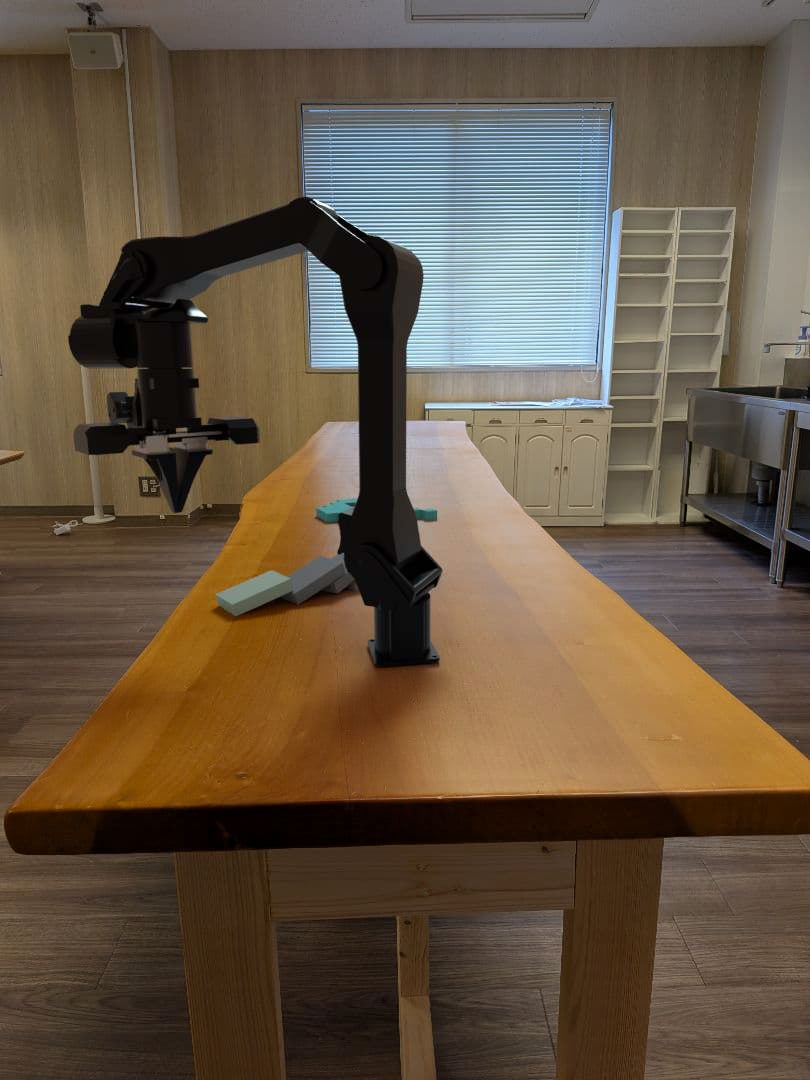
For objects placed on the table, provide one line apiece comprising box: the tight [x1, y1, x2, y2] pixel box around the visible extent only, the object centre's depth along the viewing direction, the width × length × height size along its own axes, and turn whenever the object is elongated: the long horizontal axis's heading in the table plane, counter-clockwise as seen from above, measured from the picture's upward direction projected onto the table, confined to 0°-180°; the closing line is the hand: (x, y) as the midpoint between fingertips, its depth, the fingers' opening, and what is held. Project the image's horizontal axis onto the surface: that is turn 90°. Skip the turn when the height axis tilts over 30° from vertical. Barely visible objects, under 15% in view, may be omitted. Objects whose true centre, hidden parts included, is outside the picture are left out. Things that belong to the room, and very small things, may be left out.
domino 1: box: [279, 555, 346, 605], centre depth 94 cm, size 2×5×8 cm
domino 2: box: [320, 553, 355, 594], centre depth 98 cm, size 2×5×8 cm
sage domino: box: [215, 570, 293, 617], centre depth 90 cm, size 2×5×8 cm
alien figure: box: [315, 497, 438, 523], centre depth 145 cm, size 20×2×20 cm
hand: (176, 512), depth 81 cm, fingers closed
